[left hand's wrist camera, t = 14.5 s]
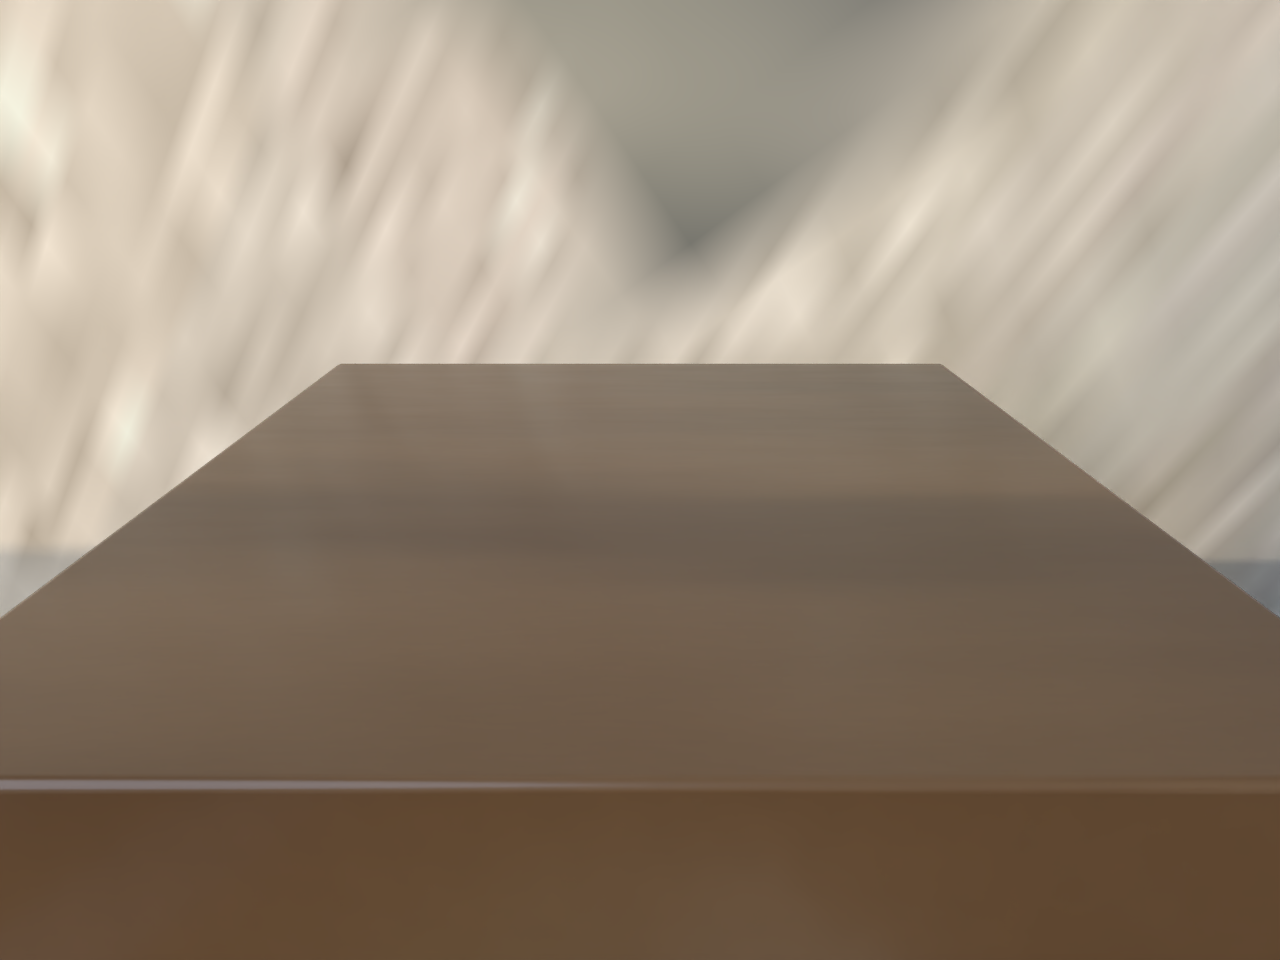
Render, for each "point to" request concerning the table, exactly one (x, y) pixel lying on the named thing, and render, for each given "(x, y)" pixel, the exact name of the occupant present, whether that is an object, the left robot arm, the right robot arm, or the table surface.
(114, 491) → the table surface
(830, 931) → the box
